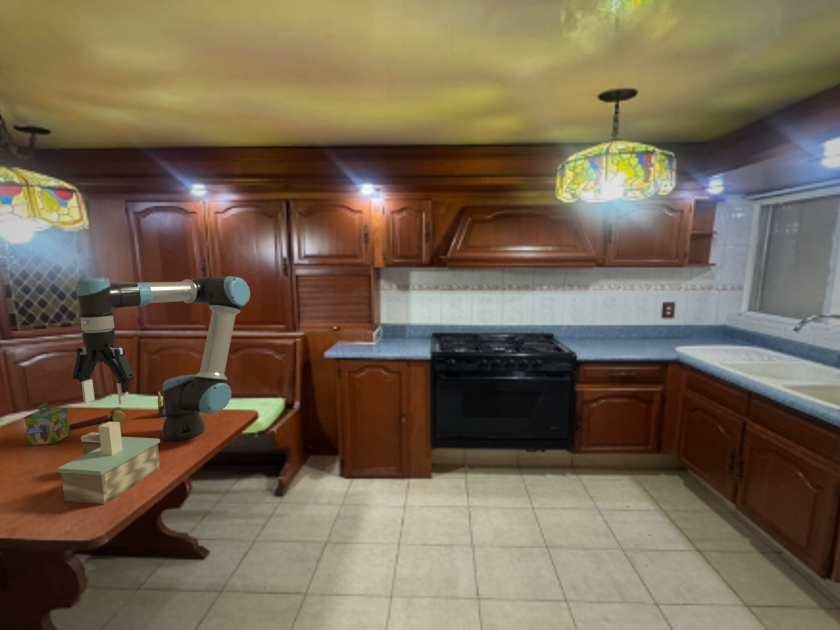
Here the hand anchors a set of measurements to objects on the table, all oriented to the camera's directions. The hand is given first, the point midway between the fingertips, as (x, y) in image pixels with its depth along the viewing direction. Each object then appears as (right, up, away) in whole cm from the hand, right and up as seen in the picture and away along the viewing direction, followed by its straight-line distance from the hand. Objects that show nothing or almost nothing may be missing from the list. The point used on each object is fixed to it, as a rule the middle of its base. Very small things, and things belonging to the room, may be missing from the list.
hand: (106, 402), depth 120 cm
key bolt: (-11, -15, +11) cm, 21 cm away
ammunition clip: (-18, -19, +61) cm, 66 cm away
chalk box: (-50, -23, +35) cm, 65 cm away
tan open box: (-4, -26, +4) cm, 27 cm away
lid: (0, -18, +2) cm, 18 cm away
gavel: (-45, -21, +51) cm, 71 cm away
